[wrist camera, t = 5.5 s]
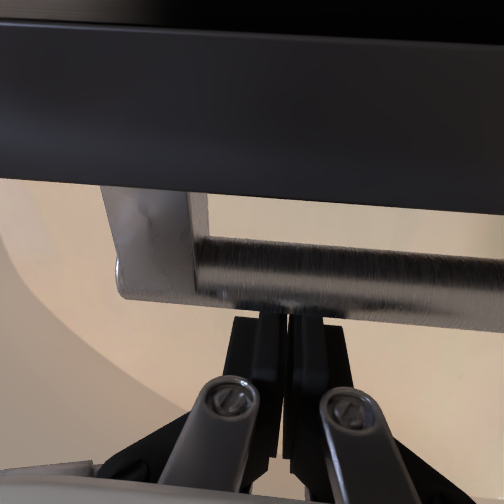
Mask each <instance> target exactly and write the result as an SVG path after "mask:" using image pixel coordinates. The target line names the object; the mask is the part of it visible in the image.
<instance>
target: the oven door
mask: <svg viewBox="0 0 504 504" xmlns="http://www.w3.org/2000/svg"><path fill="white" fill-rule="evenodd" d="M0 178H6V179H20V180H33V181H47V182H60V183H74V184H87V185H100V188H101V192H102V196H103V200H104V204H105V208H106V212H107V216H108V220H109V224H110V228H111V232H112V236H113V240H114V244H115V248H116V252H117V259H116V271H115V272H116V285H117V289H118V292H119V294H120V296H121V297H123V298H125V299H128V300H139V301H150V302H161V303H172V304H184V305H195V306H206V307H217V308H228V309H239V310H251V311H262V312H273V313H284V314H295V315H306V316H318V317H329V318H340V319H351V320H362V321H373V322H385V323H396V324H407V325H418V326H429V327H441V328H452V329H463V330H474V331H485V332H496V333H504V260H502V259H490V258H477V257H465V256H452V255H440V254H427V253H415V252H402V251H390V250H377V249H365V248H352V247H340V246H327V245H315V244H302V243H290V242H277V241H265V240H252V239H240V238H227V237H215V236H210V234H209V215H208V197H207V193H209V194H222V195H236V196H249V197H263V198H276V199H290V200H303V201H317V202H330V203H344V204H357V205H371V206H384V207H398V208H411V209H425V210H438V211H452V212H465V213H479V214H492V215H504V0H0Z"/></svg>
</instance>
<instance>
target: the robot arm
mask: <svg viewBox="0 0 504 504" xmlns="http://www.w3.org/2000/svg"><path fill="white" fill-rule="evenodd" d="M283 397H284V405H283ZM282 405H283V455H282V456H283V459H290V473H293V474H295V475H296V477H297V478H298V479H299V480H300V481H301V482H302V483H303V484H304V485H305V500H306V501H303V500H294V499H286V498H277V497H269V496H260V495H251V493H252V485H253V482H254V481H255V480H256V479H258V478H259V477H260V476H261V475H263V474H264V473H265V472H267V471H268V464H269V457H272V458H276V455H277V447H278V439H279V430H280V422H281V414H282ZM0 504H476V503H475V502H474V501H473V500H472V499H471V498H470V497H469V496H468V495H467V494H466V493H464V492H463V491H462V490H461V489H459V488H458V487H457V486H455V485H454V484H453V483H452V482H450V481H449V480H448V479H446V478H445V477H444V476H443V475H441V474H440V473H439V472H437V471H436V470H435V469H434V468H432V467H431V466H430V465H428V464H427V463H426V462H425V461H423V460H422V459H421V458H420V457H418V456H417V455H416V454H414V453H413V452H412V451H411V450H409V449H408V448H407V447H405V446H404V445H403V444H402V443H400V442H399V441H398V440H396V439H395V438H394V437H393V436H392V433H391V431H390V429H389V426H388V424H387V422H386V419H385V417H384V415H383V412H382V410H381V408H380V407H379V405H378V404H377V402H376V401H375V400H374V399H373V398H372V397H371V396H369V395H368V394H366V393H364V392H363V391H361V390H358V389H355V388H354V386H353V381H352V376H351V370H350V365H349V359H348V354H347V348H346V343H345V337H344V332H343V328H342V326H334V325H324V324H323V317H318V316H306V315H295V314H289V323H288V332H287V314H284V313H273V312H262V311H260V313H259V318H249V317H238V316H235V318H234V322H233V327H232V332H231V337H230V341H229V346H228V351H227V356H226V361H225V365H224V370H223V375H222V376H219V377H217V378H214V379H212V380H210V381H209V382H208V383H206V384H205V385H204V387H203V388H202V389H201V391H200V393H199V395H198V397H197V399H196V402H195V404H194V406H193V408H192V410H191V411H189V412H188V413H186V414H184V415H182V416H181V417H179V418H177V419H176V420H174V421H172V422H170V423H169V424H167V425H165V426H163V427H162V428H160V429H158V430H157V431H155V432H153V433H151V434H150V435H148V436H146V437H145V438H143V439H141V440H139V441H138V442H136V443H134V444H132V445H130V446H129V447H127V448H125V449H123V450H122V451H120V452H118V453H116V454H115V455H114V456H112V457H111V458H110V459H108V460H107V461H106V462H105V463H104V464H98V465H93V462H92V460H88V461H80V462H69V463H60V464H50V465H41V466H32V467H22V468H13V469H5V470H1V471H0Z"/></svg>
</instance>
